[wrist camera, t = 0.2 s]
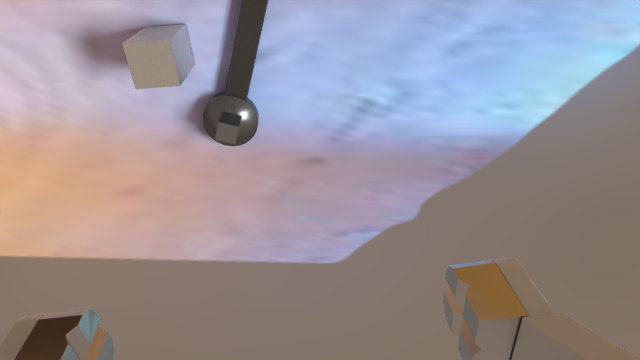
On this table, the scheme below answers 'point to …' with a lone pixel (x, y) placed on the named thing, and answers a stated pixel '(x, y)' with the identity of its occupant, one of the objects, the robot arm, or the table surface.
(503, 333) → the robot arm
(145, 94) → the table surface
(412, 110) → the table surface
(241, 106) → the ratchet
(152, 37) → the tan wooden block
